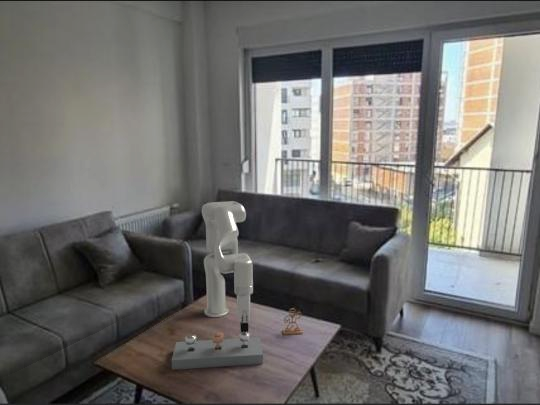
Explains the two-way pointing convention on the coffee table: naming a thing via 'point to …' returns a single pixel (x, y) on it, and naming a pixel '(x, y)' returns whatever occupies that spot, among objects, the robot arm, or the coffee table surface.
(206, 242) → the robot arm
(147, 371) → the coffee table surface
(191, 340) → the knob
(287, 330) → the tan upright piece
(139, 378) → the coffee table surface
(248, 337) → the knob
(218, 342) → the knob middle
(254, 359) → the knob panel
